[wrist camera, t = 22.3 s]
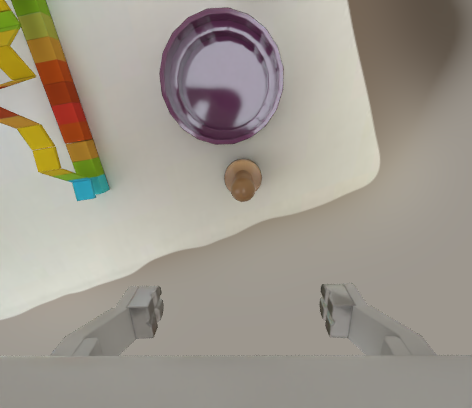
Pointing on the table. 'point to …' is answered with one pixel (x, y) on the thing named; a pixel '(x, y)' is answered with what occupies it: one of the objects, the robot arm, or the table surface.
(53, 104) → the chart
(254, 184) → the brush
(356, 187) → the table surface
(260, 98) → the bowl
